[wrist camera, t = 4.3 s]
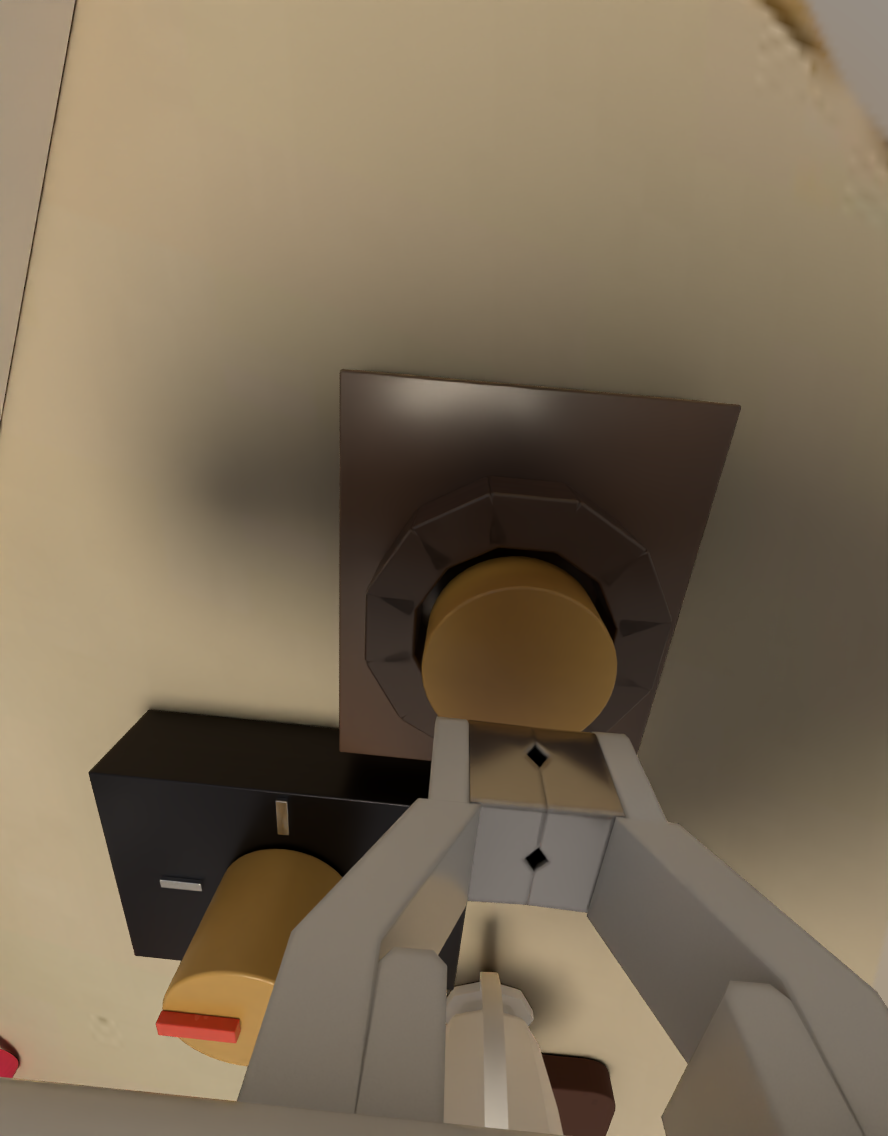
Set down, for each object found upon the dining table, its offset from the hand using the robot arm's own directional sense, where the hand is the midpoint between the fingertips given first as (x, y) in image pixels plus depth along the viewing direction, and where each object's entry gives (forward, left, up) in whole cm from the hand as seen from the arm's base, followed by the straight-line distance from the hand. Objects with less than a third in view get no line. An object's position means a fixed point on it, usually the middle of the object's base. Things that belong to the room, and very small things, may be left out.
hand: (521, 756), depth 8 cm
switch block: (0, 0, -8) cm, 8 cm away
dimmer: (+6, +11, -8) cm, 15 cm away
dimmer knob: (+6, +11, -5) cm, 13 cm away
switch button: (0, 0, -4) cm, 4 cm away
